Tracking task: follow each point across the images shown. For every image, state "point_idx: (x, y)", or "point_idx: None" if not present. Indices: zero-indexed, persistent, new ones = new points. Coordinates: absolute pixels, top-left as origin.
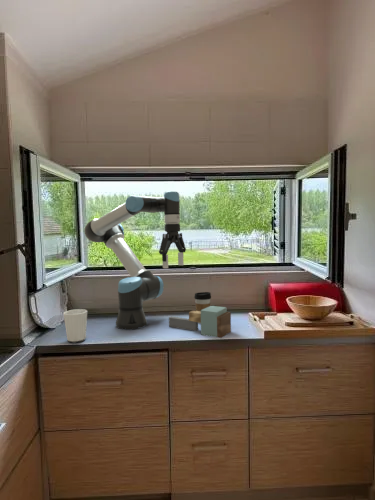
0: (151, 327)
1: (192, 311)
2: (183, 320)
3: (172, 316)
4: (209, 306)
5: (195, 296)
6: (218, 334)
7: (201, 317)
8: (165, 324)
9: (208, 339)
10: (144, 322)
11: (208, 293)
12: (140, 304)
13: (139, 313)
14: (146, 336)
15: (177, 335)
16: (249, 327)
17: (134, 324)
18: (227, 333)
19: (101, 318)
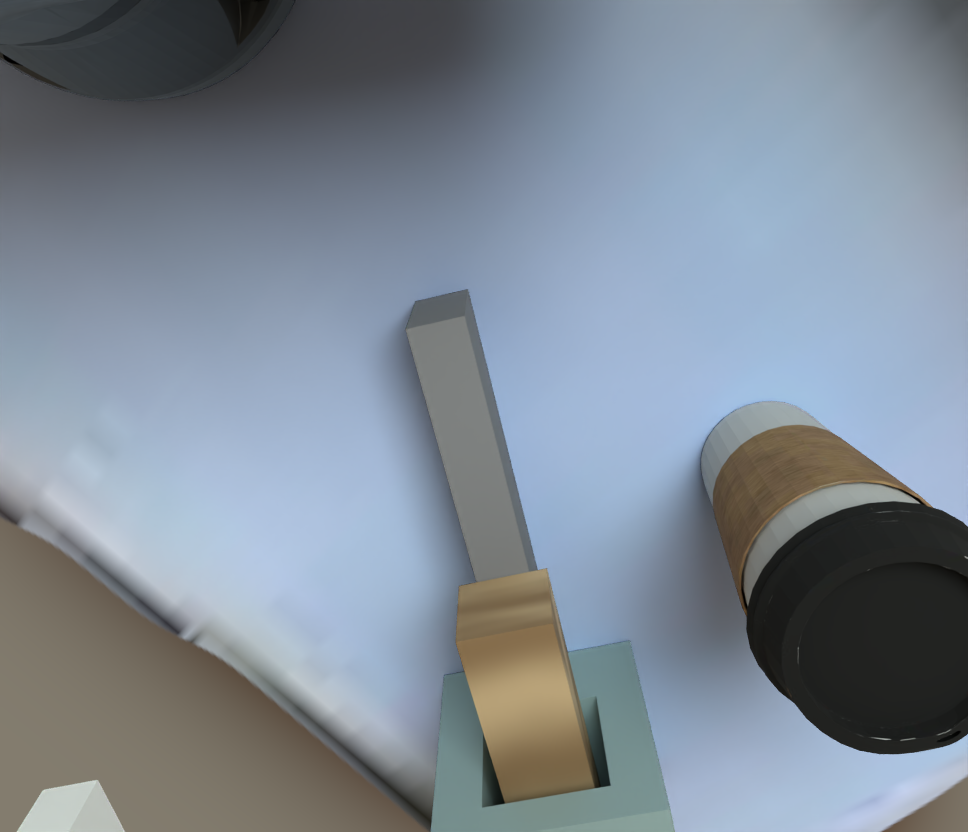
0: (257, 172)
1: (510, 646)
2: (457, 508)
3: (465, 330)
4: (629, 816)
5: (780, 590)
6: None
7: (436, 795)
8: (444, 205)
9: (398, 772)
10: (195, 85)
11: (904, 744)
12: (51, 31)
13: (78, 57)
14: (55, 375)
15: (289, 555)
16: (848, 819)
17: (39, 79)
18: None
19: None
